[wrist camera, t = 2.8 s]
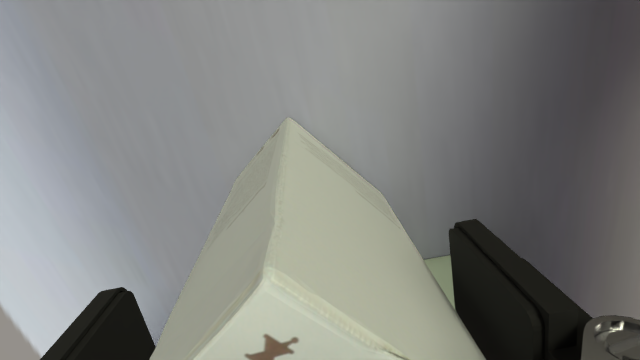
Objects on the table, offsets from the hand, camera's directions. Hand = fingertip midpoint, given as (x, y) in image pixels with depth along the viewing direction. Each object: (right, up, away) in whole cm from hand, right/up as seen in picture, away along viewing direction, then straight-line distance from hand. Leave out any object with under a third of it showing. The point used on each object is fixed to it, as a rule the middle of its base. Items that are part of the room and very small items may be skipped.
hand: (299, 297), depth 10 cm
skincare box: (0, +3, +7) cm, 7 cm away
